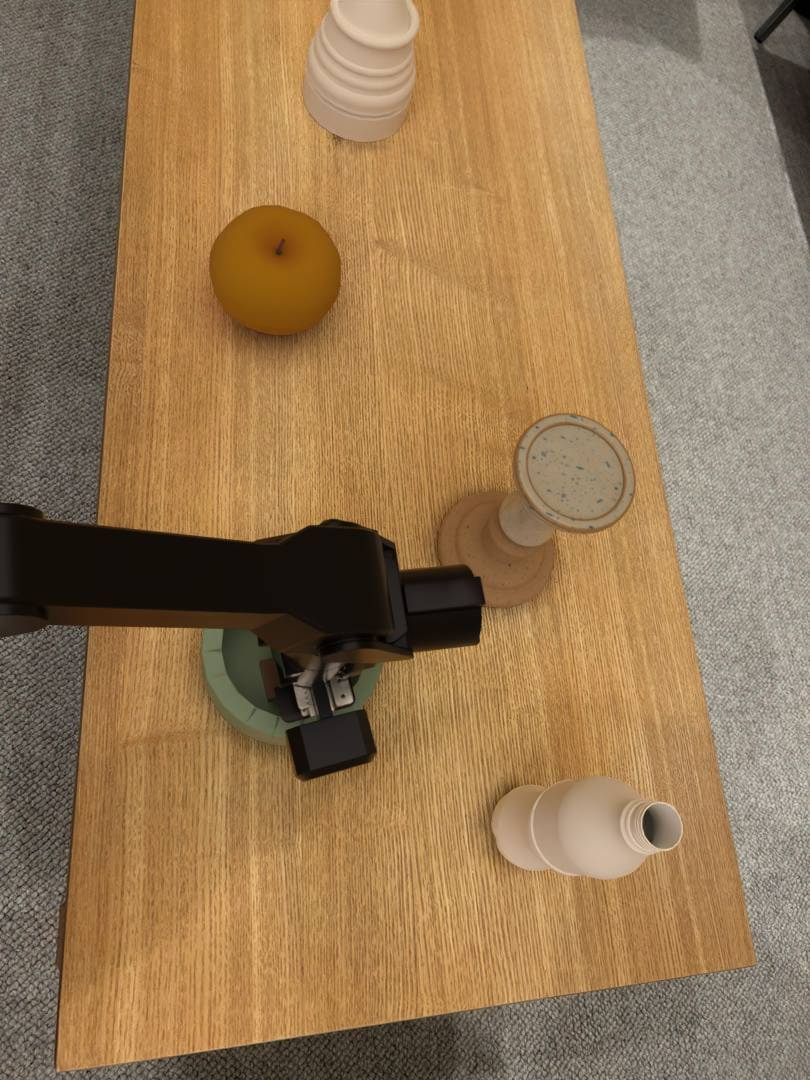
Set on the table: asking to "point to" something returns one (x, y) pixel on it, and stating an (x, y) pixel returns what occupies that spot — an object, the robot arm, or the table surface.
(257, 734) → the bowl
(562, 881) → the table surface
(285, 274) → the apple
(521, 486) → the candle holder
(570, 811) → the water bottle
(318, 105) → the honey pot
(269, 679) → the stamp
